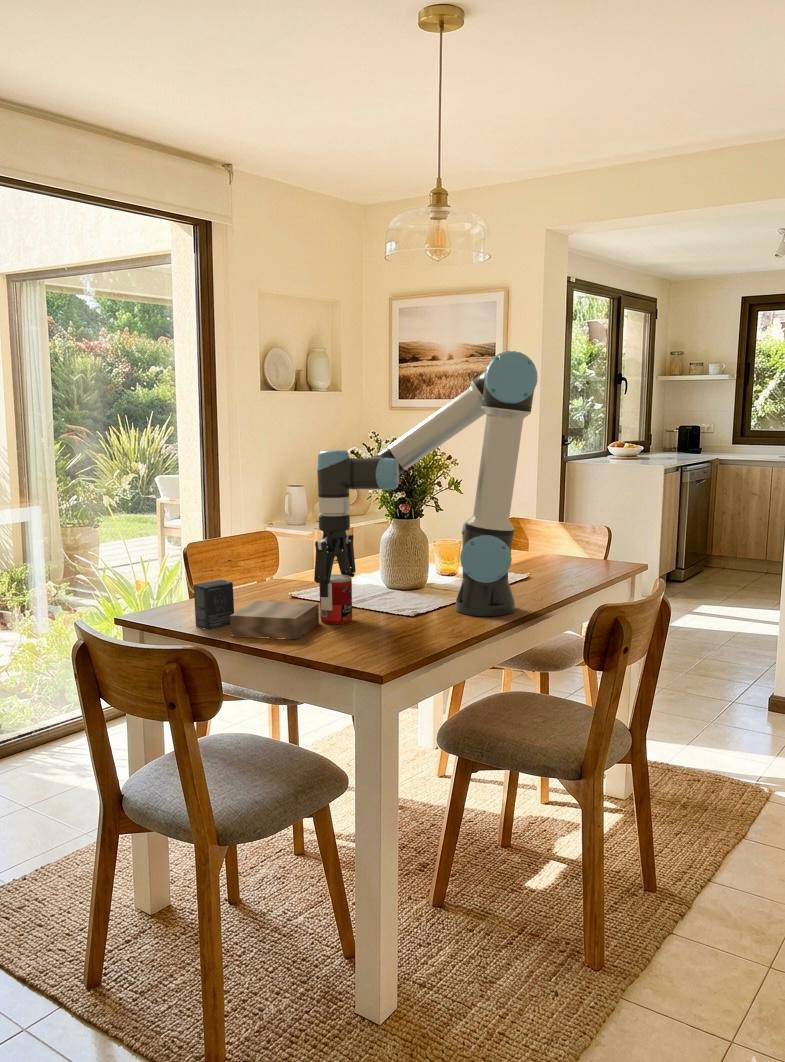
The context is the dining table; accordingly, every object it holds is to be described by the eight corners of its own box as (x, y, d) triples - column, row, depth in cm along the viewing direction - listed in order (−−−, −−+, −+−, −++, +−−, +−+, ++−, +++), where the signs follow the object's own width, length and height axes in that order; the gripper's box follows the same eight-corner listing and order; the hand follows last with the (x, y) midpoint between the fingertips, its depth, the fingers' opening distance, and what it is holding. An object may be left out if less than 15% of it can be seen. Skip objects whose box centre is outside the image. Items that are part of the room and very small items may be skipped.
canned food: (348, 625, 220) (347, 580, 219) (316, 624, 222) (315, 579, 220) (355, 617, 228) (355, 574, 226) (324, 616, 229) (323, 573, 228)
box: (222, 620, 227) (220, 579, 225) (235, 624, 223) (233, 582, 221) (194, 626, 221) (192, 583, 220) (207, 630, 217) (205, 586, 216)
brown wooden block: (318, 623, 222) (318, 603, 222) (296, 640, 207) (295, 618, 206) (257, 620, 226) (256, 600, 226) (230, 636, 211) (229, 615, 210)
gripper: (343, 508, 232) (345, 596, 235) (296, 518, 214) (299, 613, 217) (369, 510, 228) (370, 599, 231) (323, 519, 211) (325, 616, 214)
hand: (336, 606), depth 224 cm, fingers closed on canned food, 8 cm apart
